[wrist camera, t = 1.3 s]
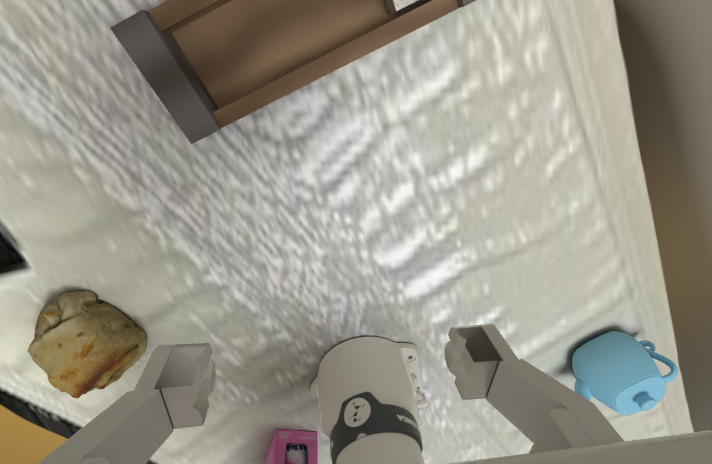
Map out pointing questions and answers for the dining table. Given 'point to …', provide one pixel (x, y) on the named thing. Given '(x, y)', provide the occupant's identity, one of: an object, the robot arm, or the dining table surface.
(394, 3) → the slider
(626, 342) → the teapot
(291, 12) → the track
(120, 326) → the pastry
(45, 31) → the dining table surface
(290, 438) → the gum box
